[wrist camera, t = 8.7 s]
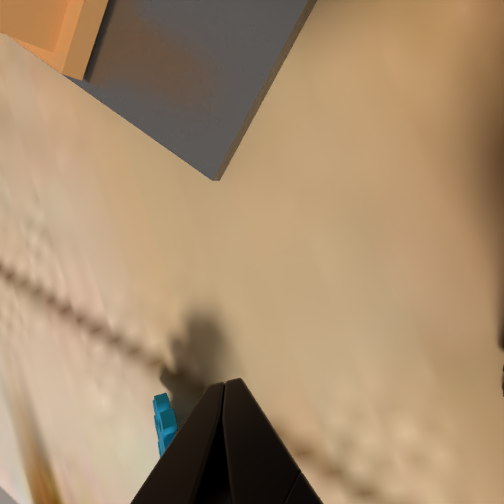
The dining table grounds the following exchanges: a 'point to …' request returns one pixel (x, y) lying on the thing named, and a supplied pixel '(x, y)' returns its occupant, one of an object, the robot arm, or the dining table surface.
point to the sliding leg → (55, 30)
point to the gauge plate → (192, 69)
